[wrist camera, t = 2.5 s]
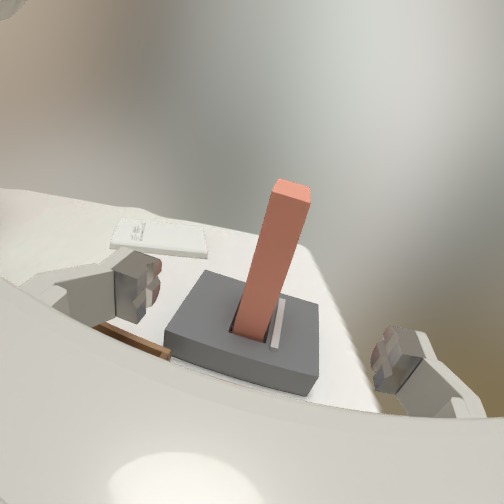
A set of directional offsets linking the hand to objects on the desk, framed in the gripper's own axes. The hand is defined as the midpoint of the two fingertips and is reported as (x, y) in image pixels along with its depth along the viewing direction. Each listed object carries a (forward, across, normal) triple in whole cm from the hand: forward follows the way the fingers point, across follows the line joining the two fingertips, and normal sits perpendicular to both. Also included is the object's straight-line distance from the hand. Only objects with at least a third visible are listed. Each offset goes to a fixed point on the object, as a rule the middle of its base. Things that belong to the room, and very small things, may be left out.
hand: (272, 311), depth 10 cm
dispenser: (+12, +1, +12) cm, 18 cm away
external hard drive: (+25, +16, +13) cm, 32 cm away
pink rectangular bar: (+12, +1, +12) cm, 18 cm away
